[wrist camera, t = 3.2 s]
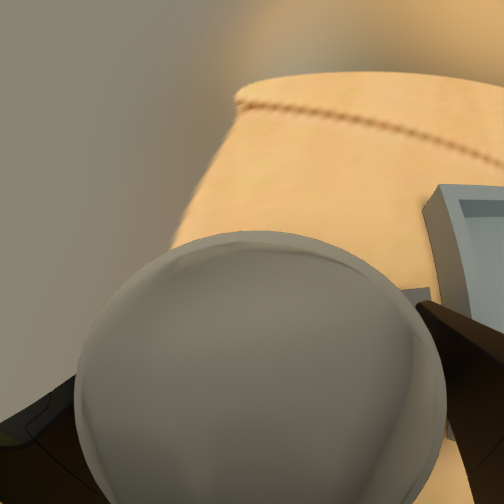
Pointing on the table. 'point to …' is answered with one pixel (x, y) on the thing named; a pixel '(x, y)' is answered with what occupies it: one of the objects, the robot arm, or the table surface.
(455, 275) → the tray
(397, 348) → the cup
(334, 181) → the table surface
